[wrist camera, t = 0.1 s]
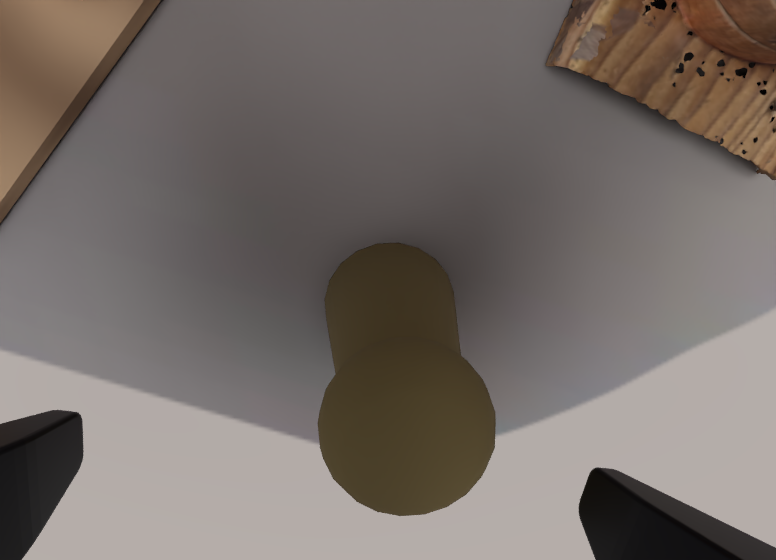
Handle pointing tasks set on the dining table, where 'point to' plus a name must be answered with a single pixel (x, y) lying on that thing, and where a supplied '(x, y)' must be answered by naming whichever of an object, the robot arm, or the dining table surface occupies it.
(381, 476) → the cork
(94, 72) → the wooden base with cylinder
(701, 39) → the bird sculpture
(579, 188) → the dining table surface
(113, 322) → the dining table surface
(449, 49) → the dining table surface
